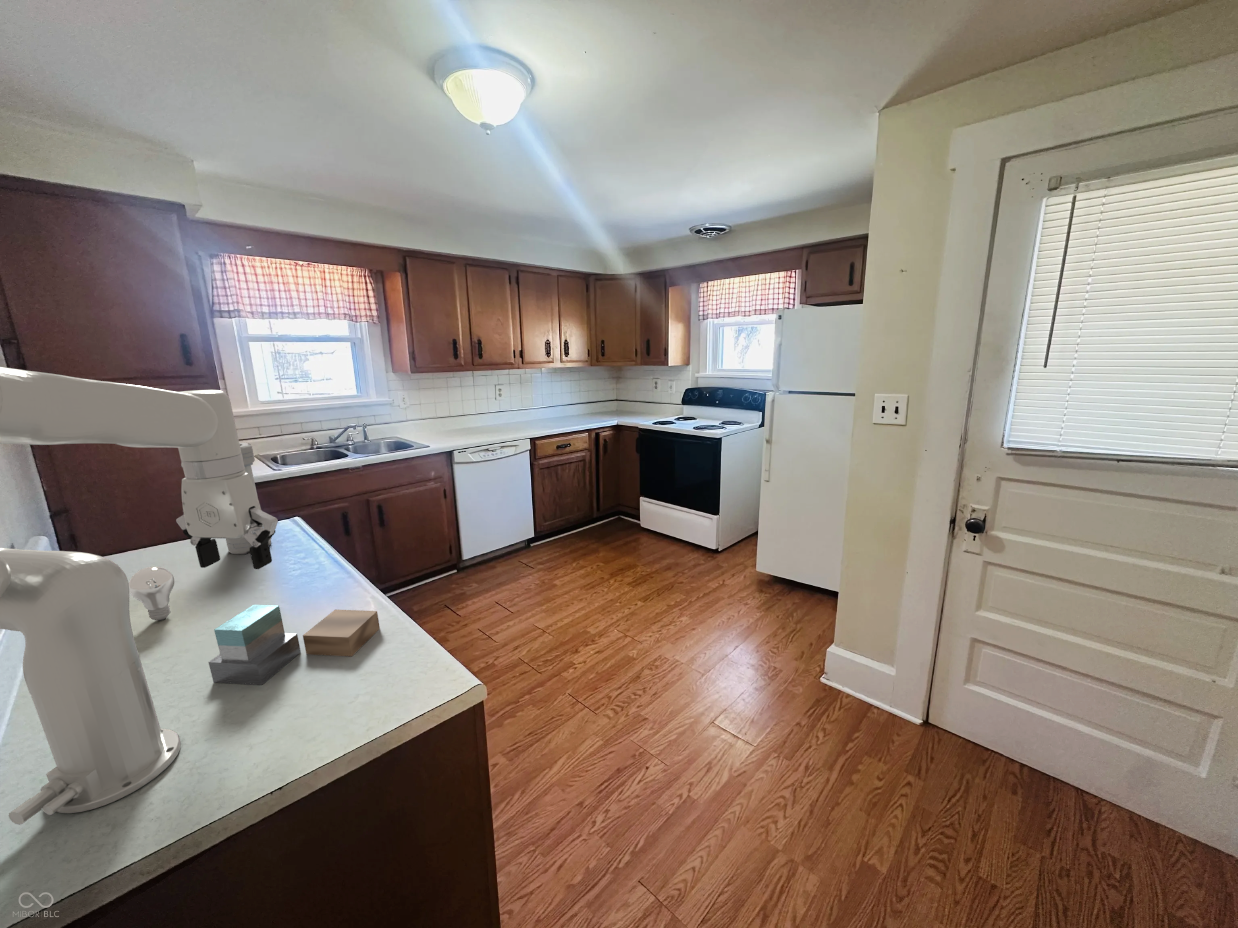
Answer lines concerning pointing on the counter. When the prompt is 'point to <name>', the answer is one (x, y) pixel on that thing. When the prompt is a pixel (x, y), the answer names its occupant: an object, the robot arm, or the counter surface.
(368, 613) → the stand
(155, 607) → the light bulb
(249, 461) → the canister
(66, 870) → the counter surface
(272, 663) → the stand
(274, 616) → the teal and grey block
